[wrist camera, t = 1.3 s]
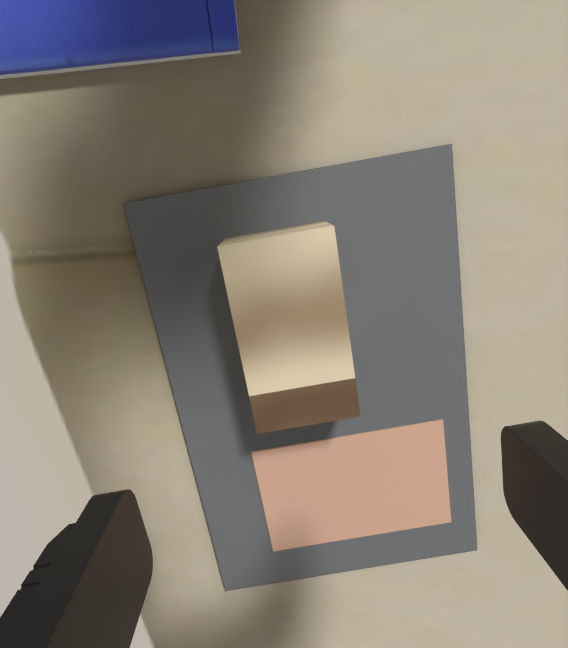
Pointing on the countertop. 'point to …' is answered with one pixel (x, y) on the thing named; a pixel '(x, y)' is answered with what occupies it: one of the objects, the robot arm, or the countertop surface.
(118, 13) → the hard drive
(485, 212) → the countertop surface
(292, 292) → the beige rectangular block
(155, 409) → the countertop surface
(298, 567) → the rubber mat
